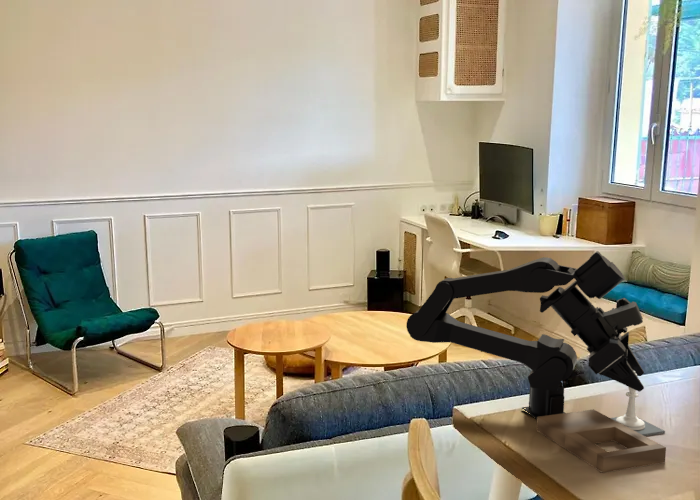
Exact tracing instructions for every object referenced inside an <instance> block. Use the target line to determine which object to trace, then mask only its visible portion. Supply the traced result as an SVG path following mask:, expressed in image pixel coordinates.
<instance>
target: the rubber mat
mask: <svg viewBox="0 0 700 500" xmlns="http://www.w3.org/2000/svg"><path fill="white" fill-rule="evenodd" d="M618 417H619V416H615V417H610V418H611V419H613V420H615V421H616V419H617V418H618ZM638 418H639V419H641V420H643V421H644V423H645V428H644V429H642V430H634V431H636V432H638V433H640V434H642V435H643V436H645V437H648V436H649V437H650V436H655V435H656V436H657V435H661V434H665V433H666V430H664V429H662V428H660V427H658V426H656V425H654V424H652V423H650V422H648V421H647V420H645V419H643V418H640V417H638Z"/></svg>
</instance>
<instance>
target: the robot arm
mask: <svg viewBox="0 0 700 500" xmlns="http://www.w3.org/2000/svg"><path fill="white" fill-rule="evenodd" d="M625 277H626V276H625V275H624V274H623V272H622V271H621V270H620V269H619V268H618V267H617V265H616V264H615V262H613V261H610V260H609V259H608V258H607V257H605V256H604V255H602V254H601V252H599V251H598V250H597V251H595V252H594V253H593V254H592V255H591V256H590V257H589V258H588V260H586V261H585V262H583V263H582V264H581V265H580V266H579V267H577V268H575V267H570V266H565V265H562V264H561V265H560V264H559V263H558V262H557V261H556V260H554V259H553V258H551V257H548V256H547V257H540V258H537V259H534V260H531V261H528V262H526V263H525V262H524V263H522V264H520V265H517V266H515V267H512V268H509V269H505V270H498V271H492V272H486V273H485V272H484V273H479V274H472V275H466V276H460V277H459V276H458V277H455V278H454V277H453V278H452V277H446V278H444V279H442V280H441V281H439V282H438V283H437V284H436V285H435V288H434V289H433V291H432V293H430V295H429V297H428V298H427V299H426V300H425V302H423V304H422V306H421V307H420V308H419V309H418V310H417V311H415V312H414V313H412V314H410V316H408V318H407V320H406V330H407V333H408V334H409V336H410V338H412V339H413V340H414V341H417V342H424V343H432V344H434V343H437V344H438V343H439V344H441V343H442V344H443V343H450V344H455V345H459V346H462V347H466V348H469V349H473V350H476V351H479V352H481V353H482V352H483V353H486V354H490V355H493V356H495V357H496V356H497V357H501V358H503V359H507V360H510V361H513V362H517V363H519V364H523V365H524V366H526V367H527V368H529V370H531V371H530V373H529V374H528V376H527V380H528V383H529V398H528V406H525V407H524V406H522V407H521V410H522V409H524V408H526V409H524V410H525V411H527V412H528V413H530V414H531V415H532V416H533V417H532V416H531V417H532V418H534V417H535V418H536V419H535V418H534V419H535V420H537V417H540V416H547V415H555V414H562V413H566V412H565V386H564V383H563V381H565V380H567V379H569V378H570V377H571V376H572V374H573V372H574V369H575V367H576V365H577V363H578V356H577V352H576V351H575V349H574V347H573V346H572V345H570V343H569V344H568V343H566V342H565V338H554V337H553V336H550V335H548V334H544V333H543V334H541V335H540V337H539V338H538V339H537V340H527V339H523V338H520V337H516V336H512V335H509V334H506V333H503V332H498V331H494V330H490V329H487V328H484V327H481V326H478V325H473V324H469V323H465V322H461V321H460V320H457V319H456V318H454V317H453V316H452V315H451V314H449V313H448V310H449V308H450V306H452V304H453V302H454V300H455V299H462V298H468V297H475V296H483V295H487V294H489V295H490V294H496V293H502V292H508V291H509V292H521V293H531V294H532V293H534V294H540V293H541V294H544V293H548V292H550V291H551V290H553V289H554V288H555V287H557V288H556V289H555V290H553V291H552V292H551V293H550V294H548V295H541V296H540V297H539V301H540V302H539V303H540V305H539V312H540V313H544V312H545V311H547V310H549V308H550V307H551V308H552V310H554V312H555V313H556V314H557V315H558V316H559V317H560V318H561V319H562V320H563V322H564V323H565V324H567V326H568V327H569V328H570V333H571V334H572V335H573V337H576V336H577V337H578V338H579V340H581V341H582V343H584V344H585V346H586V347H587V348H586V351H587V352H588V353H589V357H588V366H587V367H589V368H590V369H591V370H592V372H593V373H594V374H595V375H597V374H598V375H600V376H602V377H605V378H609V379H611V380H613V381H616V382H618V383H620V384H622V385H624V386H626V387H627V388H628V387H630V388H632V389H634V390H636V392H638V393H639V392H641V391H643V390H644V389H645V387H644V385H643V383H642V382H641V380H640V378H639V377H641V376H642V375H644V374H645V372H644V370H643V368H642V365H641V364H640V363H639V361H638V359H637V357H636V356H635V355H634V354H635V353H634V352H633V351H632V349H631V347H630V345H629V340H630V332H629V331H628V328H629V327H632V326H638V325H640V324H642V323H644V322H643V316H642V312H641V311H640V309H639V306H638V304H637V302H636V301H629V300H628V299H627V298H625V297H623V298H619V299H617V300H616V305H615V308H614V307H613V308H611V309H610V310H608V311H607V310H606V311H604V310H603V309H602V308H601V307H599V306H596V307H595V306H594V304H593V303H592V302H591V301H590V300H589V299H594V298H596V299H598V300H601V299H602V298H603V297H604V296H606V295H608V293H610V292H611V291H612V290H614V289H615V288H616V287H617V286H619V285H620V284H621V283H622V282H624V281H625V280H626V278H625ZM572 280H574V282H572V283H571V284H570V282H571V281H572ZM568 284H570V285H569V286H567V285H568ZM562 286H567V287H566V288H563V287H562ZM578 288H579V289H578ZM586 296H587V297H588V298H589V299H588V298H587V297H586ZM622 333H623V335H621V334H622ZM634 371H636V372H635V373H636V374H637V376H636V374H635V373H634ZM638 376H639V377H638Z"/></svg>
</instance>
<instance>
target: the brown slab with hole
mask: <svg viewBox="0 0 700 500" xmlns="http://www.w3.org/2000/svg"><path fill="white" fill-rule="evenodd" d="M611 418H612V417H609V416H607V415H606V414H603V413H601V412H599V411H597V410H595V409H594V408H592V409H588V410H587V409H585V410H578V411H572V412H571V411H570V412H565V413H562V414H555V415H547V416H540V417H537V419H536V431H537V432H538V433H540V434H542V435H543V436H544V437H546V438H547V439H549V440H550V441H553V443H556V444H557V445H559V446H560V447H561V448H563V449H565V450H566V451H569V452H570V453H571V454H572V455H574V456H576V457H577V458H579V459H580V460H582V461H584V462H585V463H587V464H589V466H591V467H593V468H594V469H596V470H597V471H600V473H602V474H605V473H609V472H610V473H611V472H615V471H622V470H627V469H629V470H630V469H635V468H639V467H645V466H651V465H657V464H658V465H659V464H663V463H666V456H667V455H666V453H667V446H665V445H663V444H661V443H658V442H656V441H655V440H653V439H651V438H649V437H648V436H643V435H642V434H640V433H638V432H636V431H634V430H632V429H630V428H628V427H626V426H624V425H622V424H621V423H619V422H617V421H615V420H613V419H611ZM608 442H615V443H617V444H618V445H621V446H622V447H624V449H618V450H616V449H615V450H611V451H607V449H604V448H602V447H601V446H599V445H597V444H602V443H608Z"/></svg>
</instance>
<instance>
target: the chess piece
mask: <svg viewBox="0 0 700 500" xmlns="http://www.w3.org/2000/svg"><path fill="white" fill-rule="evenodd" d="M635 372H636V371H634V373H635ZM635 374H636V373H635ZM636 376H637V377H638V375H637V374H636ZM627 388H628V391H627V392H626V393H625V396H626V397H628V401H627V407H626V412H625V413H624V414H623V415H621V416H617V417H618V418H617V419H616V421H617V422H619V423H621V424H622V425H624V426H626V427H628V428H630V429H632V430H642V429H644V428H645V423H644V421H645V420H644V419H642V418H640V417H638V416H637V413H636V398H638V397H639V394H638V393H637V390H634V389H632V388H630V387H628V386H627ZM639 418H640V419H639ZM641 419H642V420H641ZM643 420H644V421H643Z"/></svg>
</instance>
